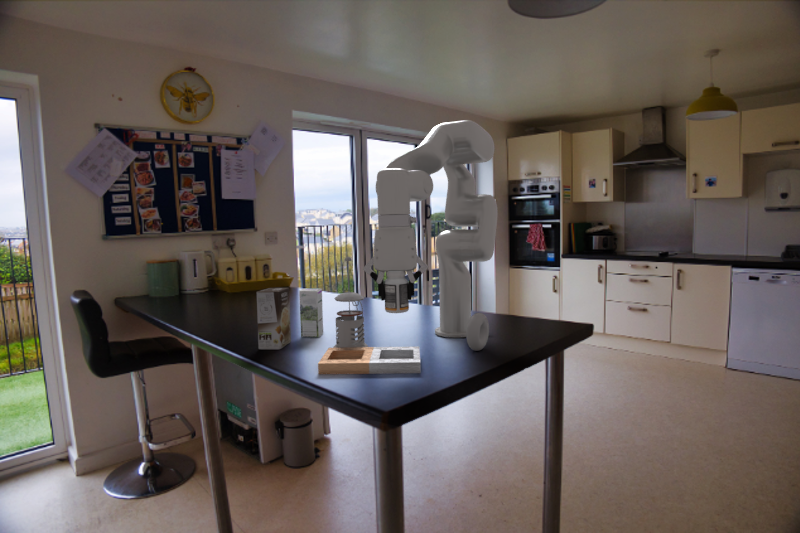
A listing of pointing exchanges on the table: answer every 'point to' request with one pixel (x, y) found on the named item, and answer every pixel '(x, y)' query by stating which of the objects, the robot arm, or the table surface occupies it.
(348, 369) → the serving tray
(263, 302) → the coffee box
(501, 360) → the table surface
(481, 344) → the donut
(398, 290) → the pill bottle
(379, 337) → the table surface
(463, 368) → the table surface
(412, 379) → the table surface
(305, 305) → the syrup box
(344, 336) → the french press
